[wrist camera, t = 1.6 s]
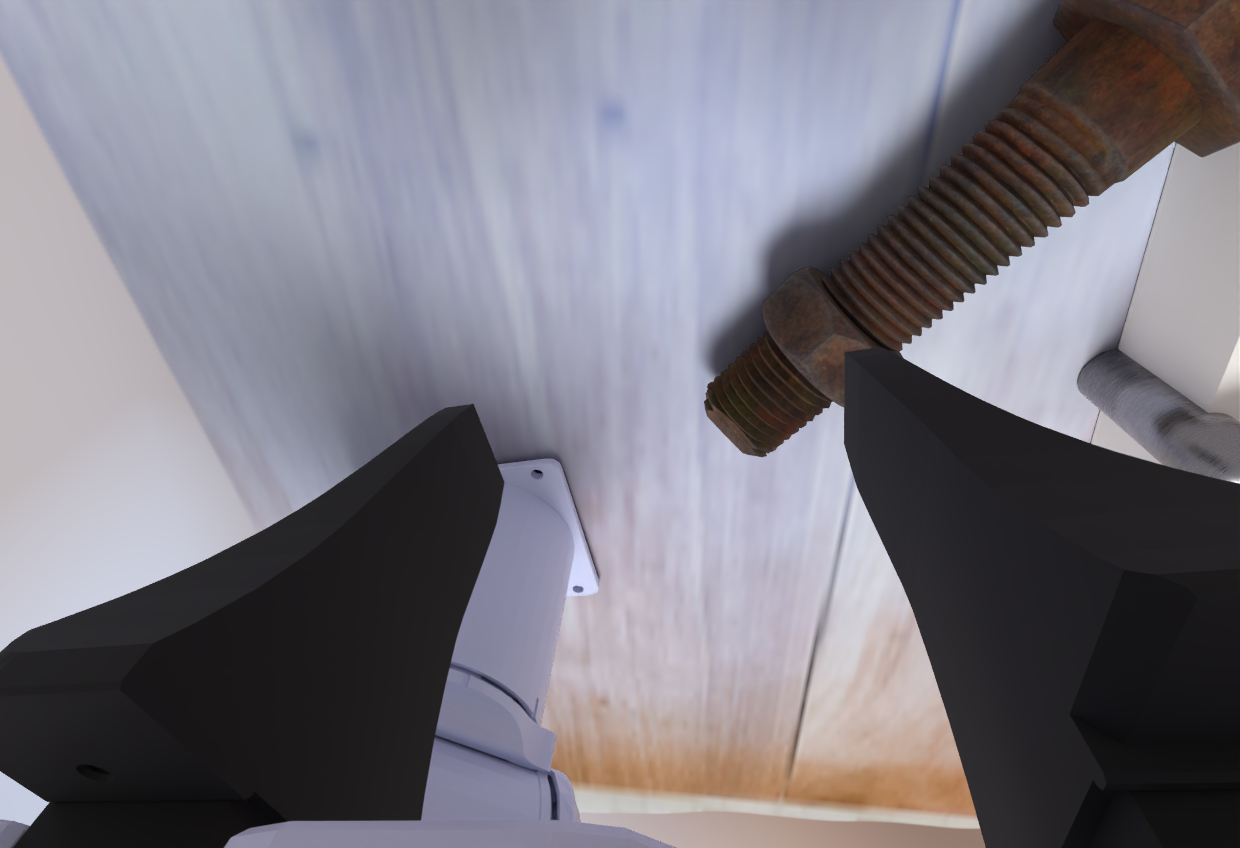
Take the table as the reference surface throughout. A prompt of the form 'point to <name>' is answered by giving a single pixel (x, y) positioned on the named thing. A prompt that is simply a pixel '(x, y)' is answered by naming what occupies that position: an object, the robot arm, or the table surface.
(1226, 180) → the bar
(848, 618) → the table surface
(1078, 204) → the bolt
